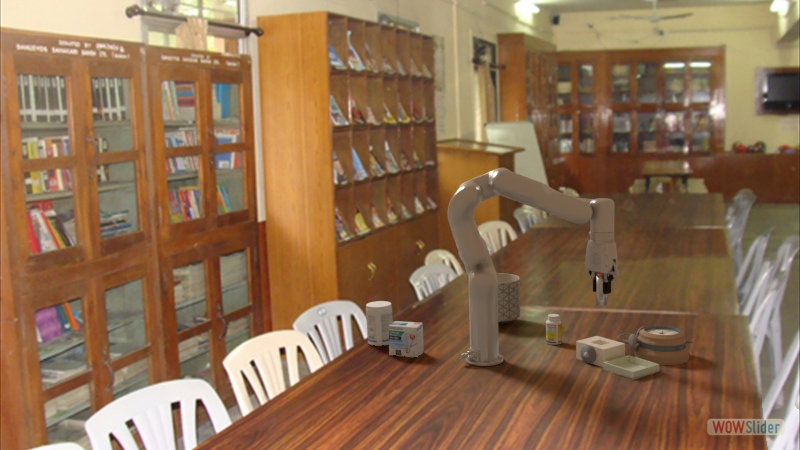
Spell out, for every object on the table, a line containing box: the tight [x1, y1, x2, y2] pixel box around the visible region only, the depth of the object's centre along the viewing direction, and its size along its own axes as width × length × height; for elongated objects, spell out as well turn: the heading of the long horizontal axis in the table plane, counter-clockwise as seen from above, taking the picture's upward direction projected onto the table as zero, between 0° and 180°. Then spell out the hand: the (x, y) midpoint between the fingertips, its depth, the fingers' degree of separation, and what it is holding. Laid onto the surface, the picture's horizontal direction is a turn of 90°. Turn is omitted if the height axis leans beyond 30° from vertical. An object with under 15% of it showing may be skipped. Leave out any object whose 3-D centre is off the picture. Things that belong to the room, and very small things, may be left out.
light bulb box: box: [388, 320, 424, 358], centre depth 271 cm, size 11×7×11 cm, turn 70°
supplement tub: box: [365, 300, 394, 347], centre depth 284 cm, size 10×10×15 cm
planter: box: [496, 272, 521, 327], centre depth 306 cm, size 19×19×18 cm
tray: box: [602, 354, 660, 381], centre depth 246 cm, size 12×12×2 cm
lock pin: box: [595, 272, 609, 307], centre depth 254 cm, size 4×4×11 cm
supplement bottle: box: [545, 313, 563, 346], centre depth 278 cm, size 6×6×10 cm
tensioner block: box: [575, 335, 626, 368], centre depth 257 cm, size 12×12×6 cm
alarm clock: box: [617, 325, 693, 366], centre depth 260 cm, size 17×9×23 cm
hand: (601, 291), depth 254 cm, fingers closed on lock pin, 3 cm apart
